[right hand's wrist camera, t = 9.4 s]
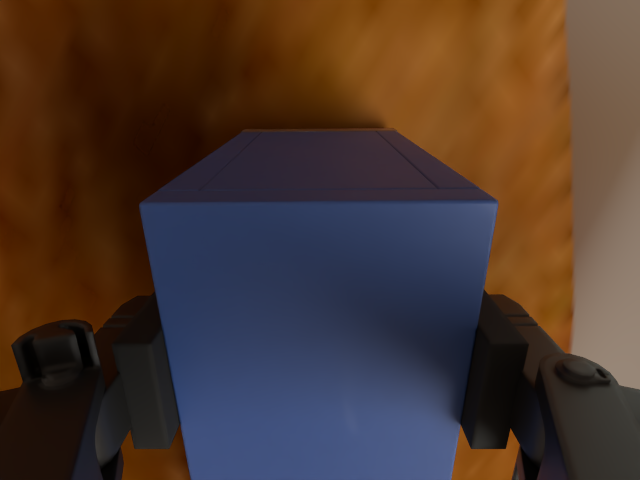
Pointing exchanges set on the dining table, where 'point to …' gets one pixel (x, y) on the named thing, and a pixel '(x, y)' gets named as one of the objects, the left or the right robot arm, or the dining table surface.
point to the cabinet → (319, 304)
